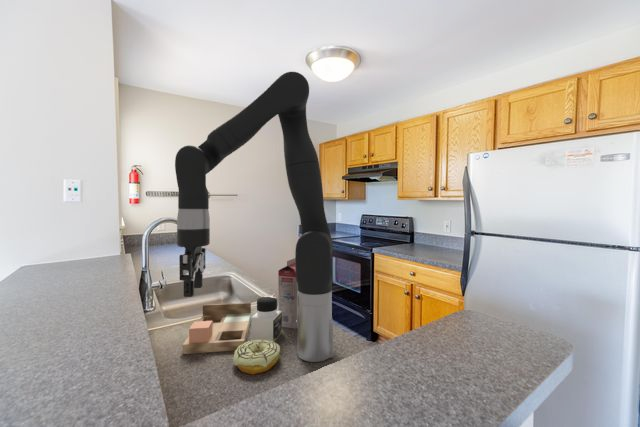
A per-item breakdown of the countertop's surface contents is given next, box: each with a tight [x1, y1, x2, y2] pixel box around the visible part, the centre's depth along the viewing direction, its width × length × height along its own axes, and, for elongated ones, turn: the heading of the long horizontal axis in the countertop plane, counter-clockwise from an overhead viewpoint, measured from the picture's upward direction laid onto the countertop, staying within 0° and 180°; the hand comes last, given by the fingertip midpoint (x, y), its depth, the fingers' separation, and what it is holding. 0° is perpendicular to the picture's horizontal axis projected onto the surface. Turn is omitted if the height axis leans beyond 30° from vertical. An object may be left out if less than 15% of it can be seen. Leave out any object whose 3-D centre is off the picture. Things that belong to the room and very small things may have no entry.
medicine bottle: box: [250, 295, 283, 343], centre depth 85 cm, size 7×7×12 cm
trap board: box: [182, 302, 252, 355], centre depth 87 cm, size 16×22×6 cm
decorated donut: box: [232, 339, 281, 375], centre depth 71 cm, size 11×12×4 cm
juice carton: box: [277, 257, 298, 330], centre depth 95 cm, size 7×7×22 cm
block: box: [188, 320, 213, 344], centre depth 78 cm, size 5×5×4 cm
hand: (193, 291), depth 71 cm, fingers open, 7 cm apart
